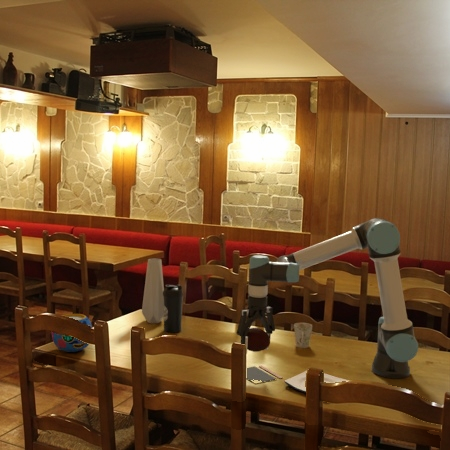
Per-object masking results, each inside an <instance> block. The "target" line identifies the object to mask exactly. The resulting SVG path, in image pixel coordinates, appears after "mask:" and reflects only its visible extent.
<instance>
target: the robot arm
mask: <svg viewBox="0 0 450 450" xmlns="http://www.w3.org/2000/svg"><path fill="white" fill-rule="evenodd" d="M400 242H401V233H400V230H399V229H398V227H397V226H396V225H395V224H394V223H393V222H391V221H388V220H387V219H385V218H381V217H375V218H371V219H369V220H367V221H365V222H362V223H360V224H358V225H356V226H353V227H352V229H351V230H349V231H347V232H345V233H341V234H340V235H337V236H334V237H331V238H329V239H326V240H324V241H321V242H319V243H316V244H312V245H311V246H308V247H306V248H303V249H300V250H298V251H296V252H292V253H290V254H287V255H281V256H279V257H277V259H276V261H270V258H269V257H268V256H267V255H260V254H258V255H251V256H250V257H249V265H248V285H247V286H248V290H247V291H248V295H247V308H246V309H241V310H240V318H239V322H238V327H237V329H236V335H237V336H239V337H240V345H242V344H245V345H246V354H248V349H247V346H248V337H247V336H246V335H247V333H248V331H249V329H250V328H252V327H251V326H252V325H253V322H255V321H256V320H257V319H259V320H260V322H261V324H262V326H263V328H264V331H265V332H266V333H267V334H268V335H269V337H270V338H271V335H272V334H273V332H275V331H276V326H275V320H274V315H273V310H274V309H273V307H271V306H269V305H268V296H267V295H268V289H269V285H268V284H269V282H280V283H281V282H283V283H297V282H299V280H300V271H302V270H304V269H307V268H309V267H312V266H314V265H317V264H320V263H323V262H325V261H328V260H331V259H333V258H335V257H338V256H342V255H344V254H347V253H349V252H352V251H355V250H358V249H360V250H361V251H362V250H365V249H367V252H368V257H369V259H371V261H373V262H374V268H375V275H376V279H377V287H378V291H379V298H380V305H381V309H382V315H383V316H380V317H379V319H378V323H377V324H378V325H377V327H378V328H377V329H378V330H377V347H376V348H377V349H376V354H375V356H374V359H373V361H372V364H371V372H373V374H375V375H377V376H379V377H384V378H388V379H405V378H408V377H409V376H410V375H411V367H410V366H409V362H410V361H412V360H413V359H414V358H415V357H416V356H417V354H418V352H419V342H418V340H417V338H416V337H415V331H414V325H413V322H412V321H411V320H410V319H408V314H407V309H406V303H405V296H404V289H403V285H402V278H401V272H400V266H399V260H398V258H399V257H400V256H401V254H402V253H401V245H400ZM267 305H268V306H267ZM265 313H266V314H265ZM269 349H270V345H269V346H268V348H266V349H265V350H267V351H268V350H269ZM246 354H245V355H246Z"/></svg>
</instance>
